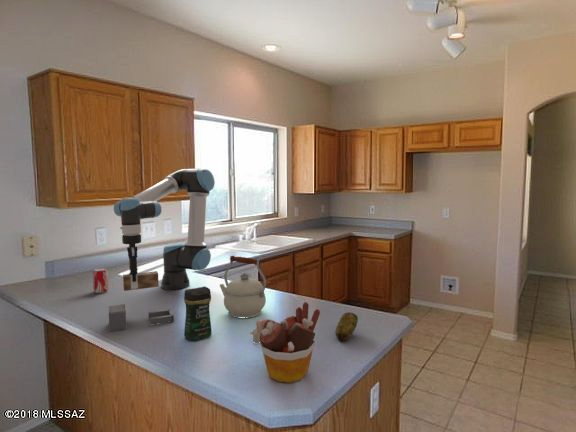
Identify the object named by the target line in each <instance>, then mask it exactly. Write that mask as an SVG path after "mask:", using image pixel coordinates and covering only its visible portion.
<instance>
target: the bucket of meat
mask: <svg viewBox="0 0 576 432" xmlns="http://www.w3.org/2000/svg"><path fill="white" fill-rule="evenodd" d="M309 306H310V305H309V303H308V302H306V301H305V302H303V304H302V307H300V306H298V307H297V308H295V316H294V315H292V316H287V317H286V318H285V319H283V320H281V321H280V322H278V321H277V322H276V321H275V320H272V319H258V320H256V322H255V325H256V327H257V329H258V331H259V334H260V343H259V344H260V345H261V350H262V353H263V357H264V363H265V366H266V367H265V368H266V371H267V374H268V377H270V378H271V379H272V378H273V379H272V380H274V379H275V380H274V381H276V382H278V383H282V382H286V383H285V384H292V383H291V382H293V383H296V382H299V380H300V381H301V380H302V379H303V378H304V377H305V376H306V374H308V372H309V367H310V363H311V360H312V355H313V351H314V347H315V343H316V341H315V340H314V339H315V336H316V333H315V332H314V330H315V328H316V325H317V323H318V320H319V316H320V314H321V311H320V309H318V308H316V309H315V310H313V314H312V316H311V319H309ZM295 381H296V382H295Z"/></svg>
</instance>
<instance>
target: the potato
mask: <svg viewBox="0 0 576 432" xmlns="http://www.w3.org/2000/svg"><path fill="white" fill-rule="evenodd" d="M358 317H359V316H358V315H357V314H356V313H353V312H351V311H350V312H345V313H343V314H342V315H341V316H340V319H339V321H338V322H337V325H336V329H335V336H336V338H337V340H338V341H340V342H343V341H347V340H348V339H349V338H350V337H351V335H352V334H353V333H354V331H355V329H356V328H357V325H358V321H359V318H358Z"/></svg>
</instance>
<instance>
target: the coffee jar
mask: <svg viewBox="0 0 576 432" xmlns="http://www.w3.org/2000/svg"><path fill="white" fill-rule="evenodd" d="M211 292H212V291H211V289H210V288H209V287H207V286H205V285H204V286H201V287H194V288H189V289H187V288H186V289H185V290H184V296H183V301H184V304H185V321H184V322H185V323H184V330H183V332H184V334H183V336H184V337H185V339H186V340H188V341H194V340H196V341H200V340H203V338H204V339H207V338H210V337H211V335H212V332H213V331H212V322H211V321H212V320H211V313H210V304H211V300H212V294H211ZM209 336H210V337H209ZM199 339H200V340H199ZM194 342H195V341H194Z"/></svg>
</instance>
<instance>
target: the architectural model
mask: <svg viewBox="0 0 576 432" xmlns="http://www.w3.org/2000/svg"><path fill="white" fill-rule="evenodd" d="M250 335H253V336H252V340H253V342H255V343H259V342H260V334H259V331H258V329H257V326H256V327H255V329H252V331H251V332H250ZM253 342H252V343H253ZM259 344H260V343H259Z"/></svg>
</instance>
